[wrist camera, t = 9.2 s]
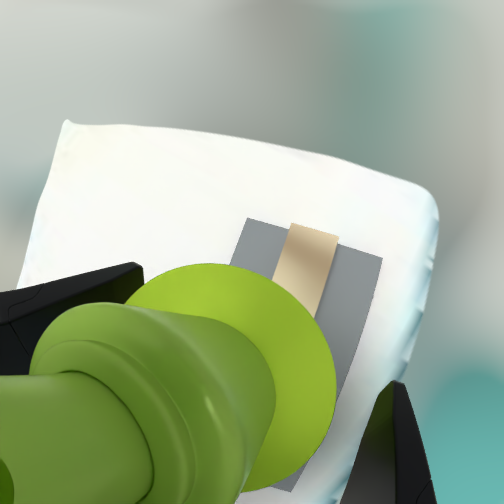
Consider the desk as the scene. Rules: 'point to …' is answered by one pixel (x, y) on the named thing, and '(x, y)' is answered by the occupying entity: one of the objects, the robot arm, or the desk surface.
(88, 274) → the robot arm
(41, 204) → the desk surface
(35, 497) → the soap dispenser
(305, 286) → the ridge
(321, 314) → the base board
